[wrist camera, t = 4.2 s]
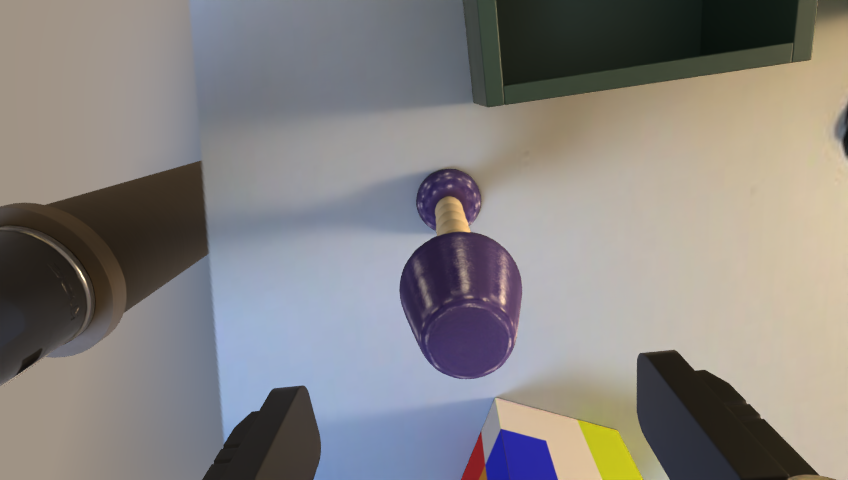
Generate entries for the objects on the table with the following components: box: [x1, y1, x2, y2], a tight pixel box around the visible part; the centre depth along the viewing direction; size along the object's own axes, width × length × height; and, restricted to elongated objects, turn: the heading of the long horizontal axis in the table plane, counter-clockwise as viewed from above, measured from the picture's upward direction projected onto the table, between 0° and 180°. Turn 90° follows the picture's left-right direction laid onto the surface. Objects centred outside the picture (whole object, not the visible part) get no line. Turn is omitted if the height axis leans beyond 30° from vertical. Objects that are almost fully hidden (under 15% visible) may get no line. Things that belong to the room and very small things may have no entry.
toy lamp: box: [400, 169, 522, 379], centre depth 21 cm, size 5×5×17 cm
